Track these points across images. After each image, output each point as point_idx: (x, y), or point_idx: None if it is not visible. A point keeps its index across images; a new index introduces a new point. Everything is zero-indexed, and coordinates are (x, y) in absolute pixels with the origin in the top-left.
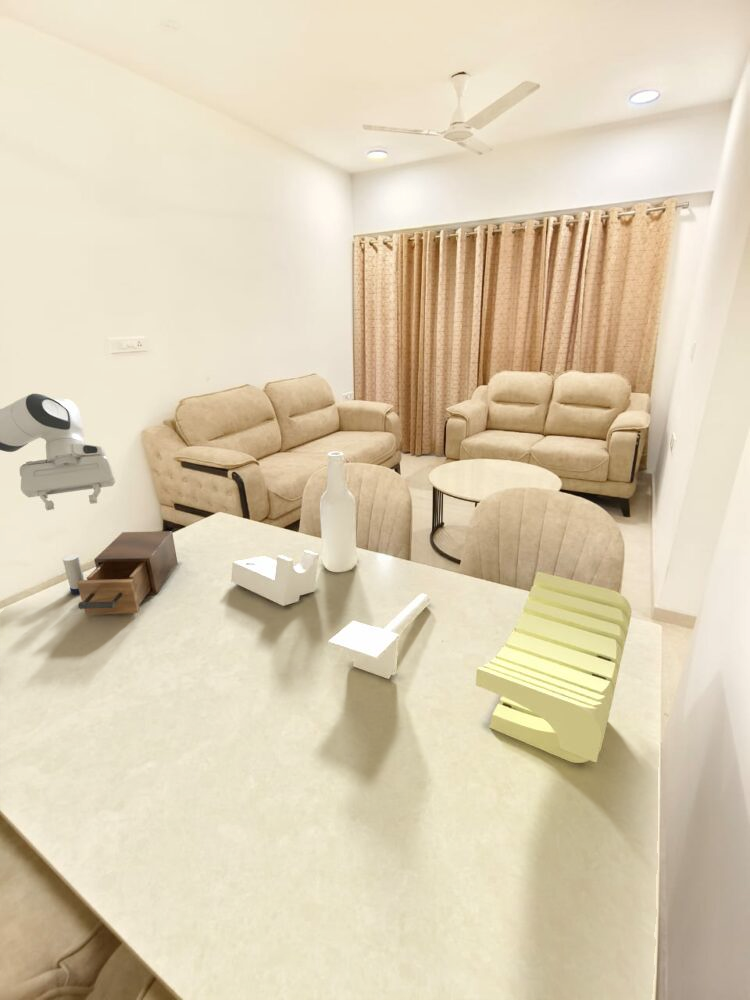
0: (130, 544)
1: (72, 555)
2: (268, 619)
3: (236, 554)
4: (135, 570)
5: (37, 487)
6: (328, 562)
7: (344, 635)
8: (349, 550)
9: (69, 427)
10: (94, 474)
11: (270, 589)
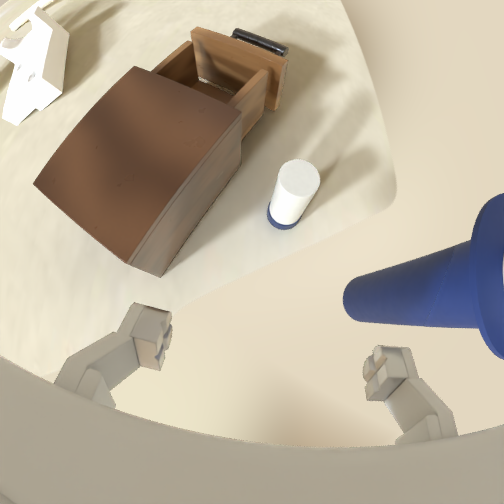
0: (135, 149)
1: (294, 187)
2: (91, 29)
3: (5, 195)
4: (174, 55)
5: (476, 445)
6: None
7: None
8: None
9: None
10: (28, 448)
11: (60, 39)
